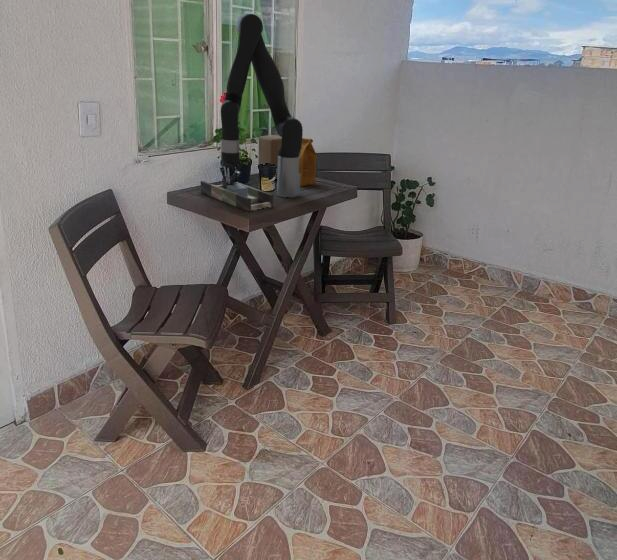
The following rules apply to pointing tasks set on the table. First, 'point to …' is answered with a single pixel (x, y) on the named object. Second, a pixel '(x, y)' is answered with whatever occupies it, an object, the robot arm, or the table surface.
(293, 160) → the robot arm
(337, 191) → the table surface
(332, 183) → the table surface
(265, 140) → the block
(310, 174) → the coffee package
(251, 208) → the trap lane
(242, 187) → the slate block
